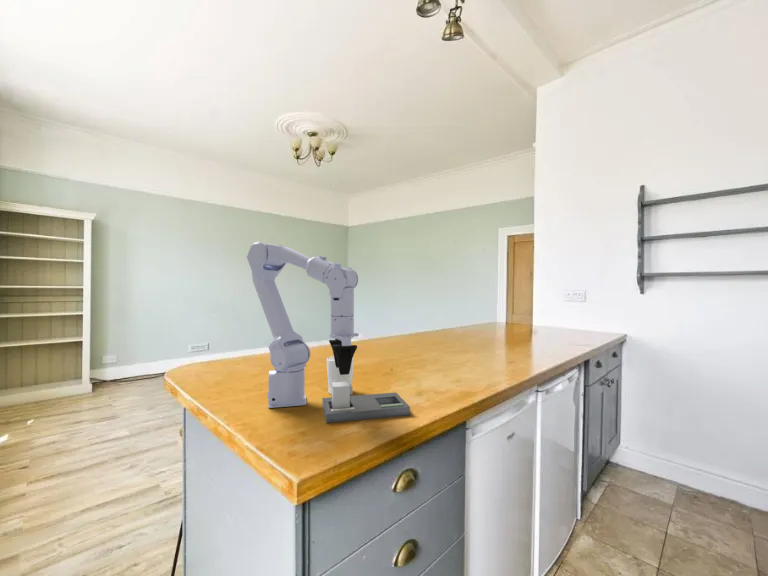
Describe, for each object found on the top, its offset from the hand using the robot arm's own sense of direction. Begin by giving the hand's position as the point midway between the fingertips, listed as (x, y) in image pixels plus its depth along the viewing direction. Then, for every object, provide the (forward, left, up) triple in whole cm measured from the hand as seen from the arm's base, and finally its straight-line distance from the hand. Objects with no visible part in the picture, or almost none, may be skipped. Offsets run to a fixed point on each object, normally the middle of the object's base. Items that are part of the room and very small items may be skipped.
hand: (342, 370), depth 86 cm
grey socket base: (+6, 0, -10) cm, 12 cm away
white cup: (+2, +17, -10) cm, 20 cm away
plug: (0, 0, -10) cm, 10 cm away
